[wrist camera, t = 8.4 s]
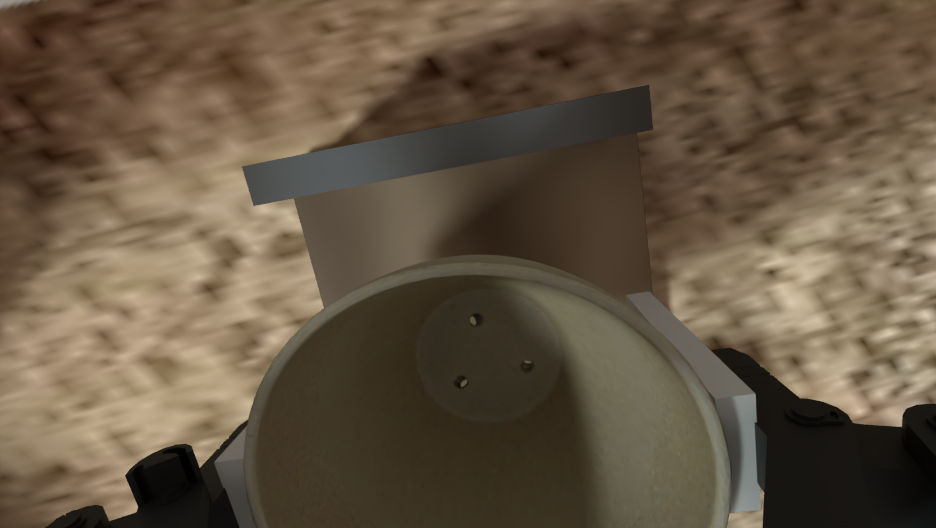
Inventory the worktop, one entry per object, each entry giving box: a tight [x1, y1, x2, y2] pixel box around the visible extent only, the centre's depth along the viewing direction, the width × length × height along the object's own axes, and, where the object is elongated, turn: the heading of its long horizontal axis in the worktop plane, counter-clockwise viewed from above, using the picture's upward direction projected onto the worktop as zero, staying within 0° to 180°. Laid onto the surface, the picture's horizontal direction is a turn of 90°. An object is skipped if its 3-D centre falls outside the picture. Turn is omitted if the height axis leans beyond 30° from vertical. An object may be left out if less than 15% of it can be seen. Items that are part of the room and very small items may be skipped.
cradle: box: [242, 85, 653, 387], centre depth 18 cm, size 14×15×6 cm
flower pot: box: [243, 255, 732, 528], centre depth 13 cm, size 10×10×7 cm
